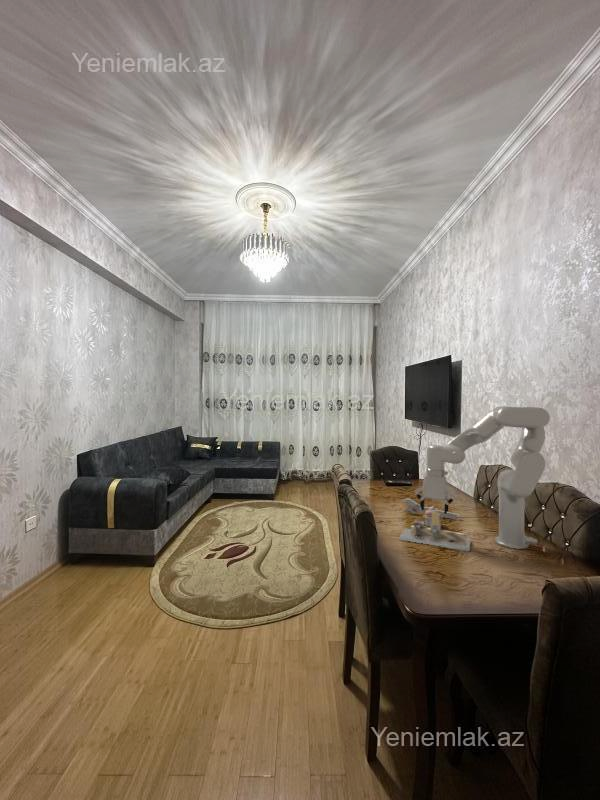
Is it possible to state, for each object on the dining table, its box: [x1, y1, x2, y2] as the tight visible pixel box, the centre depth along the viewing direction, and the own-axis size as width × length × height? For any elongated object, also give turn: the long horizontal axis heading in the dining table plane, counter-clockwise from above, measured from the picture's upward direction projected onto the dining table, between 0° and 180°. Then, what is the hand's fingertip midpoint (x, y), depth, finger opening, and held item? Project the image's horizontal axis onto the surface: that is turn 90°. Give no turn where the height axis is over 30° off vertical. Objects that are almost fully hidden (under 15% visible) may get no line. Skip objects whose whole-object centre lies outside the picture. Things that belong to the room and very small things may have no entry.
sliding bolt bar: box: [410, 520, 467, 541], centre depth 161 cm, size 23×6×5 cm, turn 63°
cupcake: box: [422, 505, 444, 528], centre depth 180 cm, size 9×9×10 cm
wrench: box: [402, 497, 462, 521], centre depth 195 cm, size 8×2×30 cm
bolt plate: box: [399, 527, 471, 552], centre depth 160 cm, size 28×12×2 cm, turn 63°
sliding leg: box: [429, 512, 442, 538], centre depth 162 cm, size 4×6×9 cm, turn 154°
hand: (434, 511), depth 163 cm, fingers open, 9 cm apart
